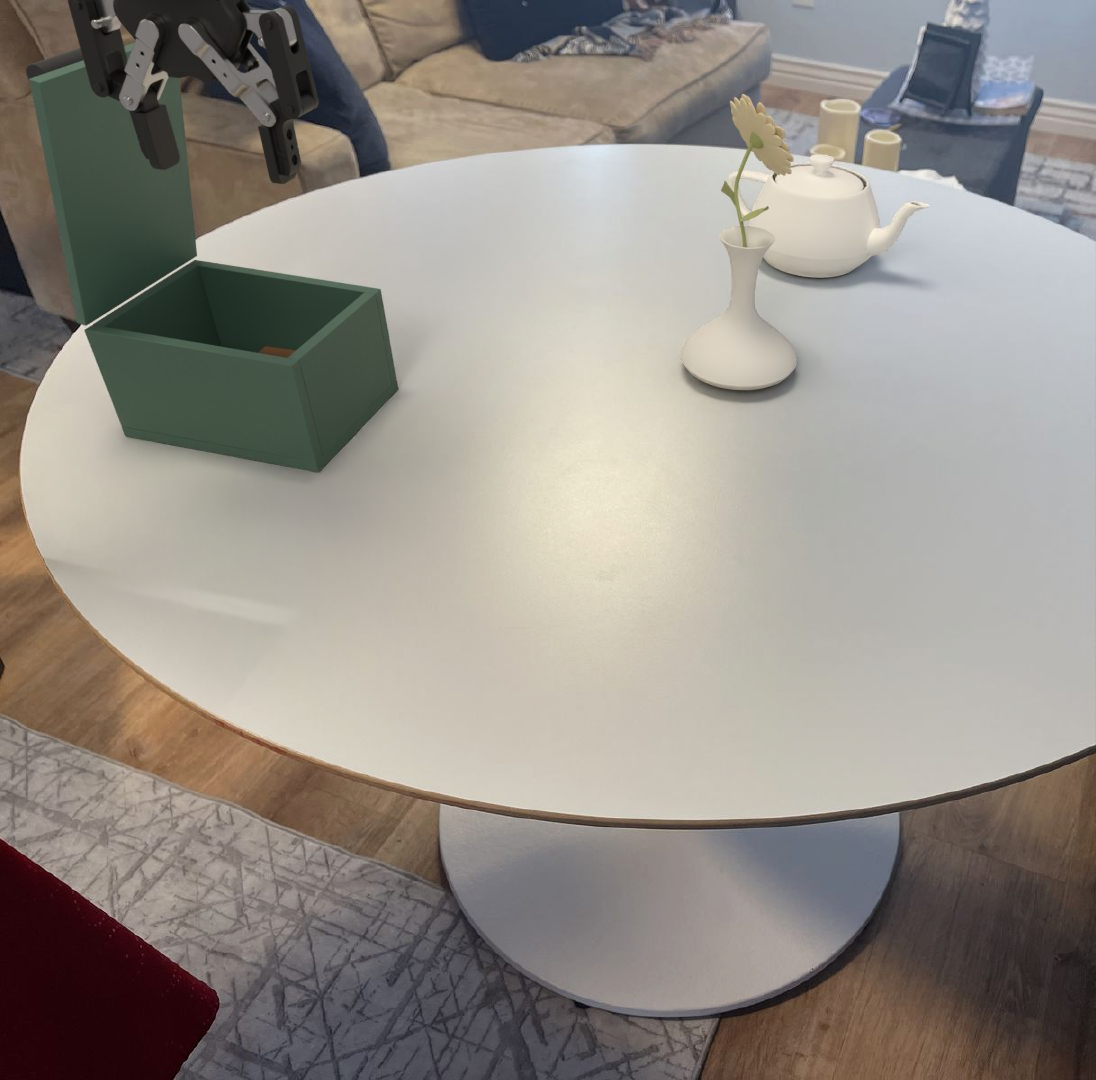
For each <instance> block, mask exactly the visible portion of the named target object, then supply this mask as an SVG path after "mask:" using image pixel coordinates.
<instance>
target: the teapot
mask: <svg viewBox="0 0 1096 1080" xmlns="http://www.w3.org/2000/svg"><path fill="white" fill-rule="evenodd" d="M834 163H835V158H834V157H833V156H831V155H829V154H823V153H817V154H812V155H810V157H809V162H793V163H790V164H791V166H789V167H790V169H791V171H792V173H791V174H787V173H786V175H785V176H783V175H781V174H780V175H777V174H775V173H774V172H773V171H772V172H771V173H770V174H768V173H765V172H760V171H754V170H749V169H743V171H742V174H741V177H740V180H749V181H753V182H758V183H763V186H762V188H761V190H760V192H759V194H758V195H757V197H756V200H755V201H754V204H753V206H752V208H750V207H749V205H748V204H747V203H746V201H745V199H744V198H743V195H742V193H741V189H740V185H739V184H740V183H739V184H738V201H739V206H740V211H741V215H742V218H743V217H744V216H745V215H747V214H748V213H750V212H753V211H755V210H758V209H761V208H766V207H767V206H768V207H769V209H768V210H766V211H764V212H762V213H761V214H759V215H758V216H756V217H754V218H752V219H750V220H746V222H748V224H747V226H751V227H757V228H761V229H764V230H766V231H768V232H770V233H771V234H773V236H774V237H775V241H774V243H773V244H772V245H771V246H770V247H769V248H768V250H767V251H766V253H765V254H764V256H763V258H762V259H764V260H765V261H766V262H767V264H768V265H770V266H771V267H773V268H775V269H776V270H779V271H781V272H783V273H787V274H790V275H794V276H799V277H804V278H818V279H819V278H820V279H821V278H834V277H840V276H843V275H846V274H850V273H851V272H852V271H854V270H855V269H857V268H858V267H859V266H861V265H862V264H864V263H865V262H867V261H869V259H870V258H872V257H874V256H878V255H880V254H883V253H885V252H888V251H889V250H890V249H891V248H892V247H893V246H894V245H895V244H896V243H897V242H898V239H899V237H900V236H901V234H902V232H903V230H904V228H905V226H906V224H907V222H908V221H909V219H910V218H911V217H912V216H913V215H914V214H915V213H916V212H918V211H920V210H923V209H927V208H930V207H931V204H929V203H926V202H921V201H915V200H912V201H911V200H910V201H907V202H905V203H904V204H902V205H901V206H899V208H898V209H897V211H896V212H895V215H894V216H893V218H892V219H891V221H890V222H889V224H887V226H884V227H881V222H880V216H879V211H878V207H877V204H876V200H875V196H874V193H873V190H872V186H871V184H870V181H869V179H868V178H866V176H865V175H863V174H861V172H858V171H856V170H854V169H851V168H848V167H845V166H841V165H837V164H834ZM738 171H739V169H738V170H735V171H733V172H730V173H729V176H728V178H727V181H726V182H727V183H728V185H729V186H730V188H731V189H732V190H733V192H734V185H735V180H736V177H737V174H738ZM732 204H733V206H734V207H735V208H736V206H735V205H734V203H733V202H732Z"/></svg>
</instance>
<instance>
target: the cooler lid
mask: <svg viewBox="0 0 1096 1080" xmlns="http://www.w3.org/2000/svg"><path fill="white" fill-rule="evenodd" d="M134 43H135V42H133V43H130V44H126V45H124V48H125V52H126V56H127V60H128V59H129V56H130V53H131V51H132V48H133V45H134ZM106 63H107V62H106ZM107 67H108V66H107ZM108 71H109V70H108ZM25 74H26V78H27V80H28V81H29V86H30V91H31V95H32V100H33V107H34V110H35V115H36V116H35V117H36V121H37V127H38V131H39V137H40V141H41V147H42V152H43V157H44V162H45V168H46V173H47V177H48V182H49V186H50V187H49V188H50V192H51V197H52V204H53V208H54V213H55V214H54V215H55V218H56V223H57V228H58V233H59V238H60V239H59V240H60V244H61V248H62V249H61V250H62V254H63V259H64V263H65V269H66V275H67V279H68V284H69V291H70V295H71V300H72V305H73V310H74V311H73V312H74V315H75V321H76V324H78V325H79V324H80V325H82V326H85V327H87V326H88V325H90V324H92V323H93V322H96V320H97V319H99V318H101V317H102V316H103V317H104V315H106V314H107V313H110V312H112V310H115V308H118V306H119V307H120V305H123V304H124V303H126V302H127V301H128V300H129V299H130V300H131V298H134V297H135V296H137V294H138V295H139V293H142V292H143V291H144V290H145V289H147V288H150V286H153V284H156V283H158V281H161V280H162V279H164V277H165V278H166V276H169V274H172V273H173V272H174V271H177V270H178V269H180V267H183V266H185V265H186V264H187V263H189V262H190V261H192V260H193V259H194V258H196V257H198V249H197V241H196V240H197V239H196V230H195V220H194V209H193V199H192V191H191V189H192V188H191V180H190V179H191V178H190V170H189V160H188V150H187V140H186V132H185V131H186V129H185V119H184V111H183V100H182V99H183V98H182V89H181V78H173V77H169V78H168V80H167V82H166V84H165V87H164V89H163V92H162V94H161V97H160V99H159V100H158V103H159V104H164V105H166V108H167V111H168V115H169V119H170V122H171V126H172V129H173V133H174V136H175V140H176V144H177V147H178V151H179V154H180V161H179V163H178V164H176V165H174V166H172V167H170V168H168V169H166V170H161V169H154V168H153V167H152V166H151V164H150V161H149V159H146V157H145V156H144V154H143V153H142V151H141V148H140V145H139V141H138V138H137V135H136V131H135V128H134V125H133V122H132V118H131V115H130V112H129V110H128V109H126V108H125V107H124V106H123V105H122V104H121V102H120V101H117V100H115V99H113V98H111V97H109V96H107V97H104V98H102V97H99V96H97V95H96V94H95V93H94V92H93V90H92V88H91V86H90V82H89V78H88V74H87V71H86V67H85V63H84V60H83V56H82V52H81V49H80V47H79V48H75V49H72V50H69V51H66V52H64V53H61V54H57V55H55V56H51V57H49V58H45V59H42V60H39V61H35V62H33V63H30V64H28V65H27V66H26V68H25Z"/></svg>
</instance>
